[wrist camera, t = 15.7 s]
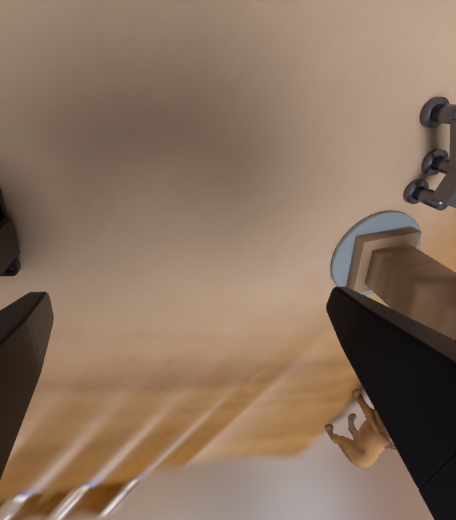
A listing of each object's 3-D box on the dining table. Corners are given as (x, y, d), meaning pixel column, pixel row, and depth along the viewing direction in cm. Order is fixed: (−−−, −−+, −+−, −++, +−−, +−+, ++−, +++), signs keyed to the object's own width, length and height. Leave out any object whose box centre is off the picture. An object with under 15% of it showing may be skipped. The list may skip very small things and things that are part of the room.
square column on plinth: (345, 286, 28) (452, 396, 18) (355, 235, 25) (489, 335, 15) (396, 276, 29) (523, 376, 19) (411, 226, 26) (572, 313, 16)
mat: (319, 293, 29) (321, 296, 28) (350, 208, 24) (353, 210, 24) (392, 291, 31) (395, 294, 30) (433, 213, 26) (437, 215, 26)
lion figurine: (357, 372, 38) (408, 442, 30) (389, 370, 39) (444, 436, 32) (318, 434, 45) (351, 505, 37) (346, 431, 46) (384, 497, 39)
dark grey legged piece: (383, 200, 24) (417, 217, 21) (428, 95, 21) (477, 96, 17) (422, 203, 26) (459, 219, 22) (471, 103, 22) (525, 106, 19)
